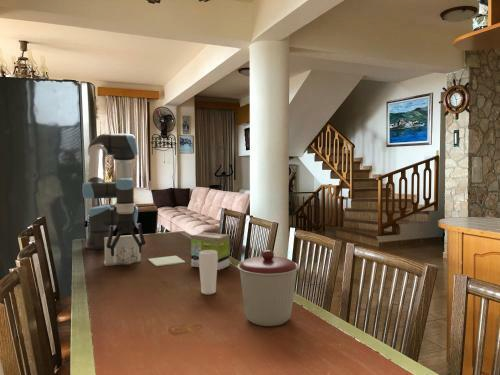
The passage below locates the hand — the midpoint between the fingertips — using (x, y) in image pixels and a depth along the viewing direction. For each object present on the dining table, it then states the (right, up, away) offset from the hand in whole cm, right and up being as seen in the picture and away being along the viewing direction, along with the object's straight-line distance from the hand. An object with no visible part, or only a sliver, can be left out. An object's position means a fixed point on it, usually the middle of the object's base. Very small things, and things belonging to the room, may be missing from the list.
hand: (126, 261), depth 179 cm
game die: (0, -2, 0) cm, 2 cm away
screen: (-5, -2, +9) cm, 10 cm away
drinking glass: (+41, -5, -36) cm, 55 cm away
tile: (+16, -2, +11) cm, 19 cm away
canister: (+62, -6, -61) cm, 87 cm away
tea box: (+38, -3, +1) cm, 38 cm away
